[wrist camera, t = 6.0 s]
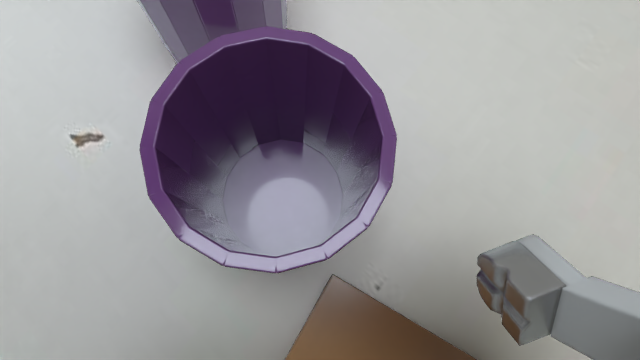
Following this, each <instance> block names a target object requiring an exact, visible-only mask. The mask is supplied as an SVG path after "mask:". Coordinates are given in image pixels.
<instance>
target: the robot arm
mask: <svg viewBox="0 0 640 360" xmlns="http://www.w3.org/2000/svg"><path fill="white" fill-rule="evenodd" d="M477 265H478V266H479V267H480V268H481V270H480V272H479V273H478V274H477V287H478V290H479V293H480V295H481V297H482V299H483V300H484V302H485V303H486V305H487V306H488V307H489V308H490V310H492V311H494V312H497V313H499V314H501V315H502V325H503V326H504V327H505V328H506V330H507V331H508V332H509V333H510V335H511V336H512V337H513V338H514V340H515V341H516V342H517V343H518V345H519V346H521V345H524V344H526V343H529V342H532V341H534V340H537V339H539V338H542V337H545V336H547V335H550V334H551V337H553V338H555V339H556V340H558V341H560V342H562V343H564V344H566V345H567V346H569V347H571V348H573V349H575V350H577V351H578V352H580V353H582V354H584V355H586V356H588V357H589V358H591V359H593V360H640V292H637V291H634V290H631V289H628V288H625V287H622V286H619V285H617V284H614V283H611V282H608V281H605V280H602V279H599V278H596V277H593V276H591V277H589V278H586V277H585V276H584V275H583V274H582V273H580V272H579V271H578V270H577V269H576V268H575V267H573V266H572V265H571V264H570V263H569V262H568V261H566V260H565V259H564V258H563V257H562V256H561V255H559V254H558V253H557V252H556V251H555V250H554V249H553V248H551V247H550V246H549V245H548V244H547V243H546V242H544V241H543V240H542V239H541V238H540V237H539V236H536V235H534V234H532V235H529V236H526V237H524V238H521V239H519V240H516V241H512V242H509V243H507V244H504V245H502V246H499V247H497V248H494V249H492V250H489V251H487V252H484V253H481V254H480V255H479V256H478V260H477Z"/></svg>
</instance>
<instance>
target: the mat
mask: <svg viewBox="0 0 640 360" xmlns="http://www.w3.org/2000/svg"><path fill="white" fill-rule="evenodd" d="M285 360H477V359H475V358H473V357H472V356H470V355H468V354H466V353H465V352H463V351H461V350H460V349H458V348H456V347H455V346H453V345H451V344H450V343H448V342H446V341H445V340H443V339H441V338H439V337H438V336H436V335H434V334H433V333H431V332H429V331H428V330H426V329H424V328H423V327H421V326H419V325H418V324H416V323H414V322H413V321H411V320H409V319H407V318H406V317H404V316H402V315H401V314H399V313H397V312H396V311H394V310H392V309H391V308H389V307H387V306H386V305H384V304H382V303H380V302H379V301H377V300H375V299H374V298H372V297H370V296H369V295H367V294H365V293H364V292H362V291H360V290H359V289H357V288H355V287H353V286H352V285H350V284H348V283H347V282H345V281H343V280H342V279H340V278H338V277H337V276H335V275H333V274H332V276H331V277H330V279H329V281H328V283H327V285H326V286H325V288H324V290H323V292H322V294H321V295H320V297H319V299H318V301H317V303H316V304H315V306H314V308H313V310H312V312H311V313H310V315H309V317H308V319H307V321H306V322H305V324H304V326H303V328H302V330H301V331H300V333H299V335H298V337H297V339H296V340H295V342H294V344H293V346H292V348H291V349H290V351H289V353H288V355H287V357H286V358H285Z"/></svg>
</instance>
